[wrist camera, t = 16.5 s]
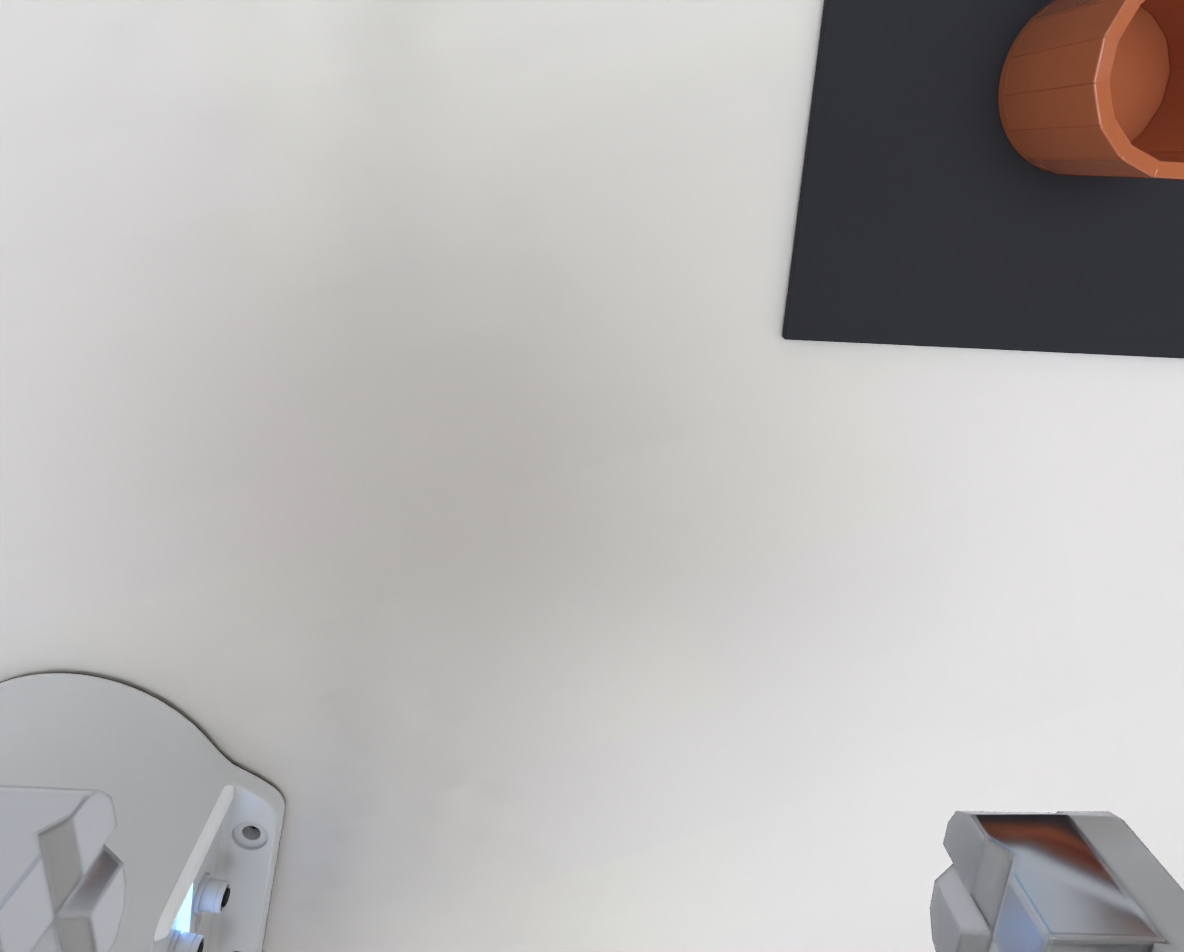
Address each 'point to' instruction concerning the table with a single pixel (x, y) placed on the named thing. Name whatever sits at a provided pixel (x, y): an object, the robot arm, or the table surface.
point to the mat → (964, 203)
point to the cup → (1098, 89)
